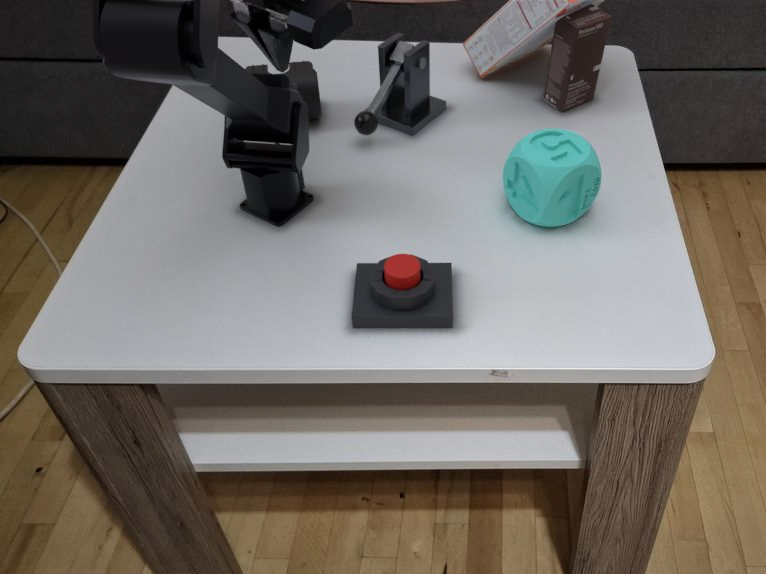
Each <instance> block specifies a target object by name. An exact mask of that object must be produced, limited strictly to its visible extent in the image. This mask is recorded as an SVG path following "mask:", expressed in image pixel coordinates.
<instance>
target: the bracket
mask: <svg viewBox="0 0 766 574" xmlns="http://www.w3.org/2000/svg"><path fill="white" fill-rule="evenodd" d="M399 41H403V42H405V34H404V33H401V32H396V33H395V34H393V35H392V36H390V37H389V38H387V39H385V40H384V41H383V42H381V43H380V44H378V45H377V57H378V71H379V88H380V87H381V85H382V83H383V82H384V80H385V78H386V77H387V75H388V73H389V71H390V70H391V68H392V66H393V65H392V63H391V61H390V59H389V58H390V56H391V54H392V53H393V51H394V49H395V47H396V46H397V44H398V42H399ZM430 44H431V43H430V41H427V40H426V39H425V40H424V39H423V40H421V41H420V42H418V43H417V44H416V45H414V47H413V48H411V49H410V50H408V51H407V52H406V53H404V72H402V73H401V75H400V77H399V78H398V80H397V82H396V84H395V85H394V87H393V89H392V91H391V92H390V94H389V96H388V97H387V99H386V101H385V103H384V104H383V106H382V108H381V110H380V111H379V113H378V115H377V120H378V124H380V125H382V126H385V127H388V128H391V129H394V130H397V131H399V132H401V133H403V134H407V135H410V136H412V137H413V136H415V135H416V134H418V132H419V131H421V130H422V129H424V128H425V127H426V126H428V124H430V123H431V122H433V120H435V119H436V118H437V117H438V116H440V115H441V114H442V113H444V111H446V110H447V100H445V99H441V98H439V97H437V96H432V95H431V78H430V77H431V70H430V69H431V67H430V65H431V63H430V62H431V61H430V59H431V57H430V54H431V53H430V52H431V51H430V50H431V48H430ZM368 108H369V106H368V107H367V108H365V109H364V110H363V111H367V109H368Z"/></svg>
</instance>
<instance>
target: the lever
mask: <svg viewBox="0 0 766 574" xmlns="http://www.w3.org/2000/svg"><path fill="white" fill-rule="evenodd" d="M414 46H415V45H414V44H412V43H410V42H405V41H404V42H403V41H399V42H398V44H397V46H396V47H395V49H394V51H393V53H392V54H391V56H390V58H389V59H390V61H391V63H392V65H393V66H392V68H391V70H390V71H389V73H388V75H387V77H386V78H385V80H384V82H383V83H382V85H381V87H380V86H379V89H378V90H377V92H376V94H375V96H374V97H373V99H372V101H371V102H370V104H369V106H368V107H369V108H368V107H367V108H368V109H367V108H366V109H367V111H364V110H362V111H360V112H358V113H357V114H356V115H355V117H354V122H353V125H354V128H355V130H356V131H357V132H358V134H360V135H363V136H371V135H373V134H374V133H375V132H376V131H377V129H378V127H379V123H378V120H377V115H378V113H379V111H380V110H381V108H382V106H383V104H384V103H385V101H386V99H387V97H388V96H389V94H390V92H391V91H392V89H393V87H394V85H395V84H396V82H397V80H398V78H399V77H400V75H401V73H402V72H404V53H406V52H407V51H408V50H410V49H411V48H413V47H414Z"/></svg>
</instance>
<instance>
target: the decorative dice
mask: <svg viewBox="0 0 766 574" xmlns="http://www.w3.org/2000/svg"><path fill="white" fill-rule="evenodd" d="M601 184H602V167H601V162H600V159H599V156H598V155H597V152H596V150H595V148H594V147H593V146H592V143H590V142H589V141H588V140H587V139H586V138H585V137H584V136H582V135H581V134H579V133H577V132H574V131H571V130H568V129H563V128H543V129H538V130H535V131H532V132H530V133H529V134H527V135H525V136H524V137H523V138H521V139H520V140H519V141H518V142H517V143H516V144H515V145H514V146H513V148H512V149H511V151H510V152H509V154H508V156H507V157H506V159H505V163H504V166H503V170H502V186H503V189H504V192H505V196H506V198H507V199H506V200H507V201H508V203H509V205H510V206H511V208H512V210H513V211H514V212H515V213H516V215H517V216H519V218H521V219H522V220H524V221H525V222H527V223H529V224H532V225H534V226H538V227H542V228H543V227H545V228H557V227H562V226H566V225H569V224H572V223H573V222H575V221H576V220H578V219H579V218H581V216H583V215H584V214H586V212H587V211H588V210H589V208H590V207H591V206H592V204H593V203H594V201H595V200H596V198H597V196H598V194H599V192H600V189H601Z"/></svg>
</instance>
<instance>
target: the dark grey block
mask: <svg viewBox="0 0 766 574" xmlns="http://www.w3.org/2000/svg"><path fill="white" fill-rule="evenodd" d="M244 69H245V70H247V71H248V72H249V73H265V74H272V73H271V72H269V66H268V64H264V63H262V64H256V65H254V64H252V65H247V66H246V67H245V68H244ZM280 74H282V75H285V76H287V77H288V78H289V79H290V80H291V82H292V83H295V84H297V91H298V92H299V93H300V94H301V96H302V99H303V101H304V102H306V104H307V107H308V119H309V121H310V120H319V119H320V117H322V115H323V112H322V104H321V95H320V94H321V93H320V87H319V79H318V72H317V71H316V69H315V68H314V64H313V63H312V61H310V60H301V61H292V62H291V61H290V62H289V67H288V69H287V70H286V71H284V72H283V73H282V72H280Z"/></svg>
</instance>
